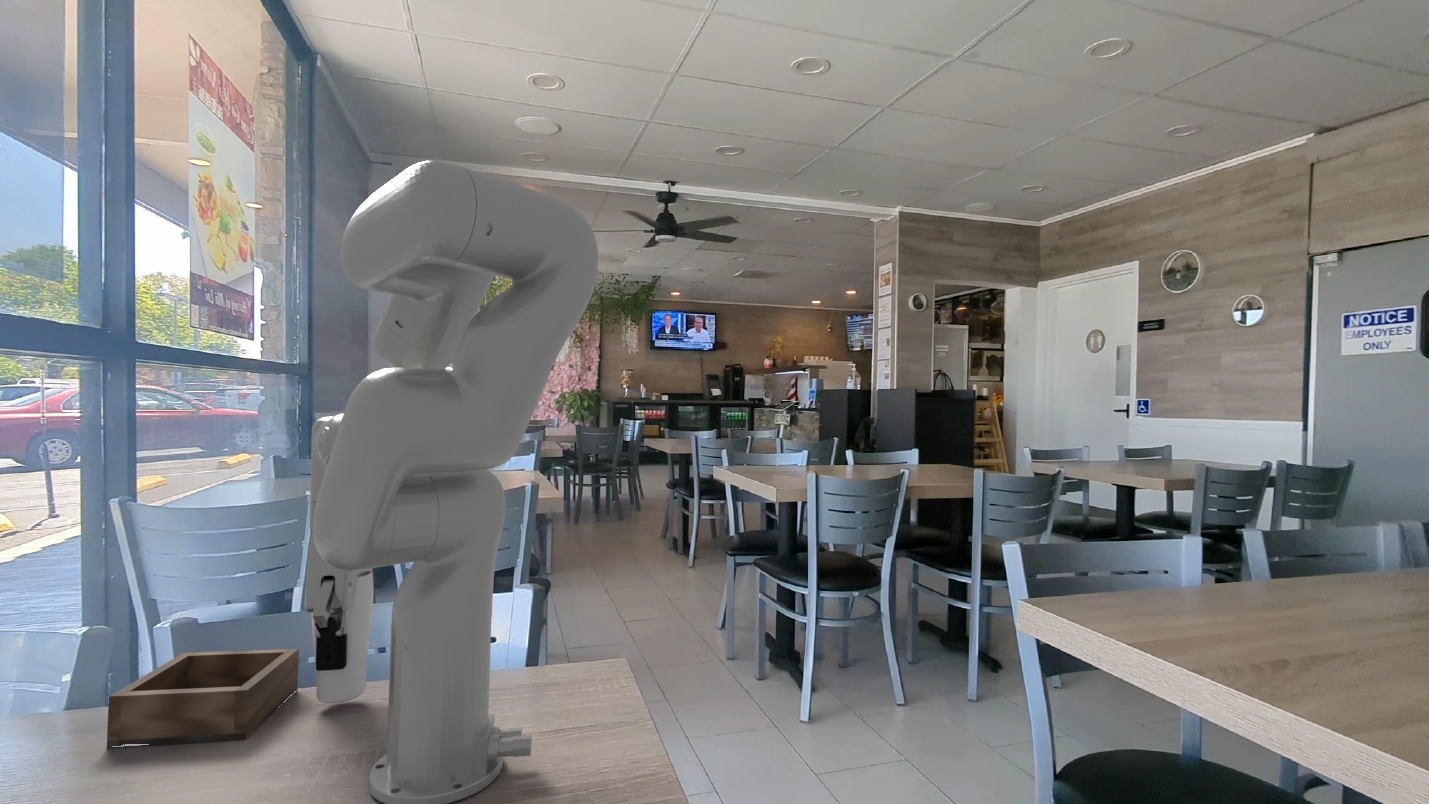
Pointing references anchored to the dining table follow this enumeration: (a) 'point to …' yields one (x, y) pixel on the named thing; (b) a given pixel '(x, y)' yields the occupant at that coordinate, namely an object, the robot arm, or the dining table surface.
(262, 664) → the caddy
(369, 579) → the drinking glass
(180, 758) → the dining table surface
